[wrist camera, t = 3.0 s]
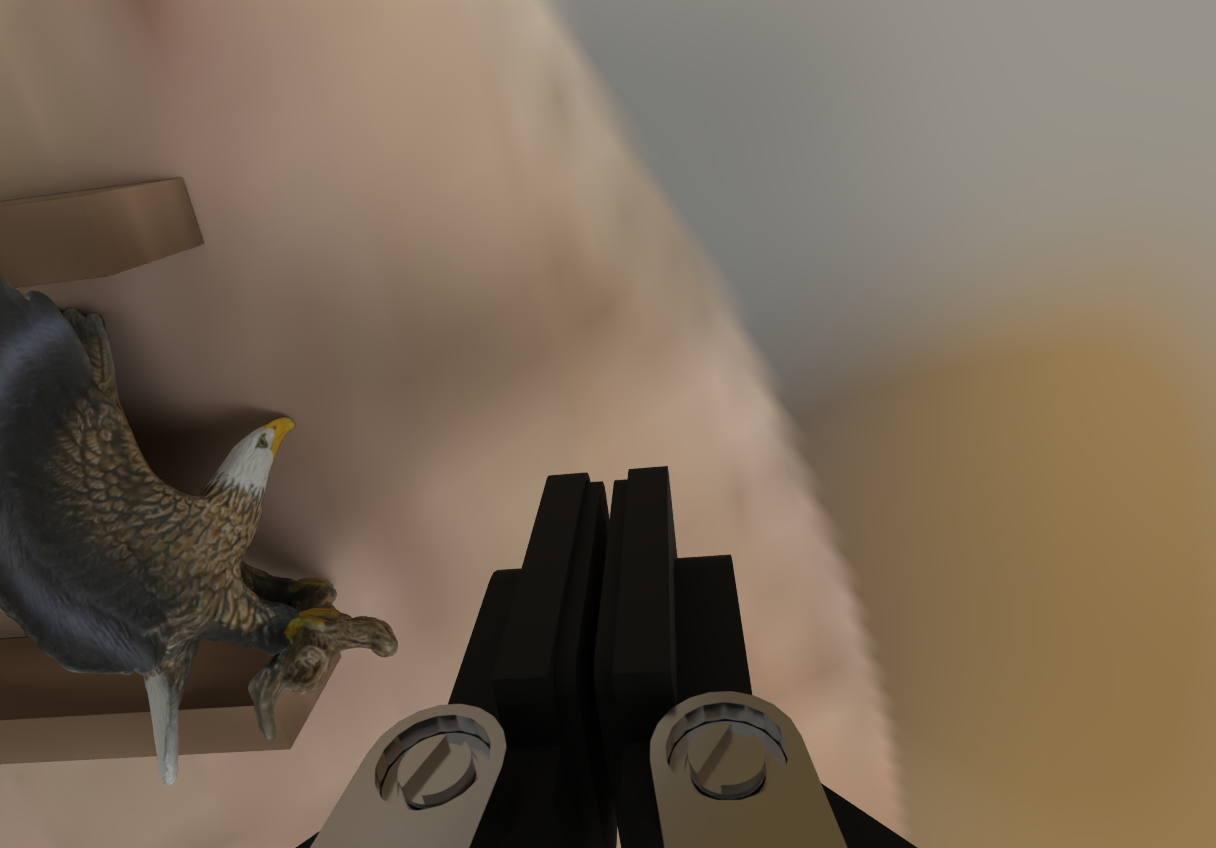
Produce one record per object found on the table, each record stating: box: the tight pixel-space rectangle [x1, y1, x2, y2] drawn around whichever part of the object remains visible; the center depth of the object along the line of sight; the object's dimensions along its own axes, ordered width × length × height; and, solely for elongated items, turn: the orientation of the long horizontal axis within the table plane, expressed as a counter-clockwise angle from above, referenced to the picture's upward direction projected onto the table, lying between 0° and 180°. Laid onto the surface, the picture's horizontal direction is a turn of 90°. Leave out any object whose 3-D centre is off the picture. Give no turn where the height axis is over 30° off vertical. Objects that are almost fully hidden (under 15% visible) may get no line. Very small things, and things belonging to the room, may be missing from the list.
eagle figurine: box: [0, 277, 398, 786], centre depth 15 cm, size 8×7×9 cm
